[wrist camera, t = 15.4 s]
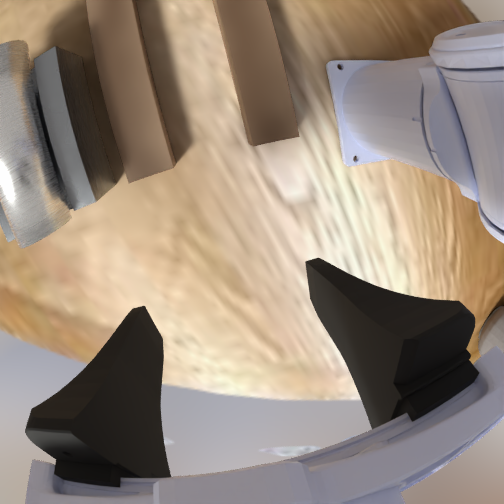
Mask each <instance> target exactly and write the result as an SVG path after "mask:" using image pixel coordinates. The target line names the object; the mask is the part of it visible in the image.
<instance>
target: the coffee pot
mask: <svg viewBox="0 0 504 504" xmlns="http://www.w3.org/2000/svg"><path fill="white" fill-rule="evenodd" d="M494 346H498V348H499V349H500V350H501V351H502V352H503V353H504V306H500V307H498V308H497V309H496V310H494V311H493V313H492V314H491V315H490V316H489V317H488V319H487V320H486V322H485V323H484V325H483V327H482V328H481V331H480V333H479V344H478V349H479V353H480V354H481V356H482V355H484V354H485V353H486V352H488V351H489V350H490V349H491V348H493V347H494Z"/></svg>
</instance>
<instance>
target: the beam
mask: <svg viewBox="0 0 504 504" xmlns="http://www.w3.org/2000/svg"><path fill="white" fill-rule="evenodd" d="M213 4H214V8H215V11H216V15H217V19H218V23H219V26H220V30H221V34H222V38H223V42H224V46H225V49H226V53H227V57H228V61H229V65H230V69H231V73H232V77H233V81H234V85H235V89H236V93H237V97H238V101H239V105H240V110H241V114H242V118H243V122H244V126H245V130H246V135H247V139H248V143H249V144H250V145H252V146H257V145H261V144H265V143H270V142H275V141H279V140H284V139H289V138H295V137H299V132H298V127H297V122H296V117H295V112H294V107H293V103H292V98H291V94H290V89H289V85H288V80H287V76H286V72H285V68H284V64H283V60H282V56H281V52H280V48H279V44H278V40H277V36H276V33H275V29H274V26H273V22H272V19H271V15H270V12H269V8H268V5H267V2H266V0H213ZM86 6H87V13H88V21H89V27H90V34H91V39H92V45H93V51H94V56H95V61H96V66H97V71H98V75H99V80H100V84H101V88H102V93H103V97H104V101H105V105H106V109H107V112H108V116H109V120H110V123H111V127H112V131H113V134H114V138H115V141H116V144H117V148H118V151H119V154H120V157H121V161H122V164H123V167H124V170H125V173H126V176H127V179H128V182H129V183H131V182H134V181H137V180H139V179H142V178H145V177H148V176H151V175H154V174H157V173H160V172H163V171H166V170H169V169H172V168H174V166H175V165H176V161H175V158H174V155H173V151H172V148H171V144H170V141H169V137H168V134H167V130H166V126H165V123H164V119H163V115H162V112H161V108H160V104H159V100H158V96H157V93H156V89H155V85H154V81H153V77H152V73H151V68H150V64H149V60H148V56H147V51H146V47H145V43H144V38H143V34H142V29H141V24H140V20H139V15H138V10H137V5H136V0H86Z"/></svg>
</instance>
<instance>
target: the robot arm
mask: <svg viewBox="0 0 504 504" xmlns="http://www.w3.org/2000/svg"><path fill="white" fill-rule="evenodd" d="M429 54H430V56H424V57H416V58H409V59H402V60H396V61H382V60H335V61H329V62H328V63H327V64H326V70H327V75H328V79H329V84H330V89H331V93H332V99H333V104H334V109H335V115H336V120H337V126H338V132H339V139H340V146H341V152H342V160H343V163H344V164H345V165H347V166H355V165H361V164H366V163H371V162H377V161H382V160H388V159H393V160H396V161H399V162H402V163H405V164H408V165H411V166H414V167H417V168H420V169H423V170H425V171H428V172H431V173H433V174H436V175H439V176H441V177H444V178H446V179H449V180H451V181H454V182H455V183H456V184H457V185H458V186H459V188H460V190H461V193H462V195H464V196H466V197H468V198H470V199H472V200H474V201H476V202H477V203H478V209H479V215H480V218H481V221H482V223H483V224H484V226H485V228H486V229H487V230H488V231H489V233H490V234H492V235H493V236H494V237H495V238H496V239H498V240H499V241H501V242H502V243H504V20H500V21H488V22H481V23H475V24H470V25H465V26H461V27H457V28H454V29H451V30H448V31H445V32H443V33H441V34H439V35H437V36H436V37H435V38H434V41H433V44H432V46H431V47H430V49H429ZM338 64H339V65H341V70H339V69H338V67H337V65H338ZM354 156H356V157H357V159H356V161H354V160H353V158H354ZM305 263H306V270H307V277H308V285H309V292H310V299H311V301H312V304H313V306H314V308H315V311H316V313H317V315H318V317H319V319H320V320H321V322H322V324H323V325H324V327H325V329H326V330H327V332H328V333H329V335H330V337H331V338H332V340H333V341H334V343H335V345H336V346H337V348H338V350H339V351H340V353H341V355H342V357H343V358H344V360H345V362H346V365H347V367H348V369H349V371H350V373H351V376H352V378H353V380H354V383H355V385H356V387H357V390H358V392H359V395H360V397H361V400H362V402H363V405H364V408H365V410H366V413H367V416H368V418H369V421H370V424H371V427H372V430H370V431H368V432H365V433H363V434H360V435H358V436H356V437H353V438H351V439H348V440H346V441H343V442H340V443H338V444H335V445H332V446H329V447H326V448H324V449H320V450H317V451H314V452H311V453H308V454H305V455H301V456H298V457H294V458H291V459H287V460H283V461H279V462H275V463H269V464H262V465H257V466H252V467H248V468H242V469H237V470H230V471H224V472H217V473H209V474H200V475H189V476H176V477H171V475H170V470H169V466H168V462H167V457H166V452H165V445H164V439H163V431H162V421H161V407H160V404H161V403H160V402H161V386H162V373H163V361H164V352H163V338H162V336H161V335H160V333H159V331H158V329H157V328H156V326H155V324H154V322H153V320H152V319H151V317H150V315H149V313H148V311H147V309H146V307H145V306H141V307H137V308H133V309H132V310H131V311H130V312H129V313H128V315H127V316H126V317H125V319H124V320H123V321H122V323H121V324H120V325H119V327H118V328H117V329H116V331H115V332H114V333H113V335H112V336H111V337H110V339H109V340H108V341H107V343H106V344H105V345H104V346H103V348H102V349H101V350H100V351H99V353H98V354H97V355H96V356H95V357H94V359H93V360H92V361H91V362H90V363H89V364H88V365H87V366H86V368H84V370H83V371H81V372H80V373H79V374H78V375H77V376H76V377H75V378H74V379H73V380H72V381H71V382H69V383H68V384H67V385H66V386H65V387H64V388H62V389H61V390H60V391H59V392H57V393H56V394H54V395H53V396H52V397H50V398H49V399H47V400H46V401H44V402H43V403H41V404H39V405H38V406H36V407H34V408H32V410H31V413H30V416H29V419H28V422H27V426H26V429H25V433H26V435H27V436H28V438H29V439H30V440H31V441H32V442H33V443H34V444H35V445H36V446H38V447H39V448H41V449H42V450H43V451H45V452H46V453H48V454H49V455H50V456H52V457H53V458H55V459H56V465H54V464H51V463H48V462H44V461H39V460H35V459H34V460H32V464H31V469H30V475H29V481H28V487H27V494H26V502H25V504H405V501H404V499H403V497H402V495H401V493H400V492H402V491H404V490H406V489H408V488H409V487H411V486H413V485H415V484H416V483H418V482H420V481H421V480H423V479H425V478H426V477H428V476H430V475H431V474H433V473H434V472H436V471H437V470H439V469H440V468H442V467H443V466H445V465H446V464H448V463H449V462H451V461H452V460H454V459H455V458H456V457H458V456H459V455H460V454H462V453H463V452H464V451H466V450H467V449H468V448H470V447H471V446H472V445H473V444H475V443H476V442H477V441H478V440H480V439H481V438H482V437H483V436H484V435H485V434H487V433H488V432H489V431H490V430H491V429H492V428H494V427H495V426H496V425H497V424H498V423H499V422H500V421H501V420H502V419H503V418H504V353H503V352H502V351H501V350H500V349H499V348H498V346H494V347H493V348H491V349H490V350H489V351H488V352H486V353H485V354H484V355H482V356H481V357H480V358H479V359H478V360H477V361H476V362H475V363H474V364H472V363H471V362H470V361H469V359H470V357H471V354H470V353H469V352H468V351H467V350H466V348H467V346H468V343H469V341H470V339H471V336H472V334H473V331H474V328H475V317H474V315H473V314H472V313H471V312H470V311H469V310H468V309H467V308H466V307H465V306H464V305H463V304H462V303H461V302H460V301H450V300H434V299H427V298H420V297H414V296H409V295H405V294H401V293H397V292H393V291H390V290H387V289H384V288H381V287H378V286H375V285H373V284H370V283H368V282H366V281H363V280H361V279H359V278H357V277H355V276H352V275H350V274H348V273H346V272H345V271H343V270H341V269H339V268H337V267H335V266H333V265H331V264H330V263H328V262H326V261H324V260H322V259H320V258H316V259H312V260H309V261H306V262H305Z"/></svg>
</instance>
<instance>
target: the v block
mask: <svg viewBox="0 0 504 504" xmlns="http://www.w3.org/2000/svg"><path fill="white" fill-rule="evenodd" d="M34 65H35V67H34V68H33V69H31V73H32V80H33V86H34V91H35V97H36V102H37V106H38V111H39V116H40V120H41V124H42V128H43V132H44V136H45V139H46V143H47V146H48V150H49V153H50V157H51V160H52V163H53V166H54V169H55V172H56V175H57V178H58V181H59V184H60V187H61V190H62V192H63V195H64V198H65V200H66V203H67V206H68V208H69V210H70V209H74V211H75V210H77V209H80V208H82V207H85V206H87V205H89V204H92V203H94V202H96V201H98V200H99V199H100V198H101V197H102V196H103V195H104V194H106V193H107V192H108V191H109V190H110V189H111V188H113V187H114V186H115V185H116V183H115V180H114V177H113V174H112V171H111V168H110V165H109V161H108V158H107V155H106V152H105V149H104V145H103V142H102V139H101V135H100V132H99V128H98V124H97V121H96V117H95V113H94V109H93V105H92V101H91V97H90V93H89V89H88V84H87V80H86V75H85V70H84V65H83V60H82V57H80V56H78V55H76V54H73V53H71V52H69V51H66V50H64V49H61V48H59V47H56V46H55V47H53V48H51V49H50V50H48V51H46V52H45V53H43V54H42V55H40V56H38V57H37V58H35V59H34ZM0 225H1V227H2V229H3V232H4V234H5V236H6V238H7V241H8V242H10V241H12V240H14V239H15V236H14V234H13V232H12V230H11V227H10V225H9V222H8V220H7V218H6V215H5V212H4V210H3V207H2V205H1V202H0Z"/></svg>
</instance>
